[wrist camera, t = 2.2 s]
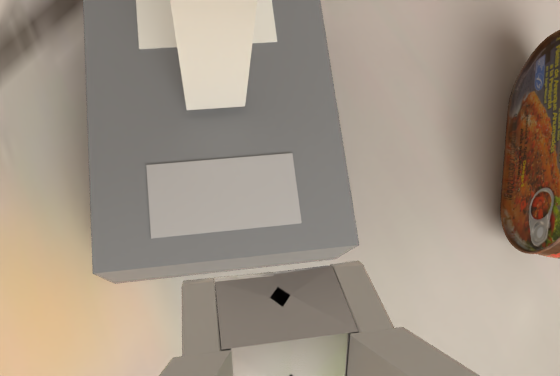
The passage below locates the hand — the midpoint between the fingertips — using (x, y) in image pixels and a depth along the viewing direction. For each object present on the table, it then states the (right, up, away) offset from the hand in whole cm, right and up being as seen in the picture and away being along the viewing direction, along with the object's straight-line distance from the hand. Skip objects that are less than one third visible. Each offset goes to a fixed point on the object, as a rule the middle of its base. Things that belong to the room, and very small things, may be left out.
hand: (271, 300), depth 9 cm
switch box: (-4, +5, +27) cm, 28 cm away
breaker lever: (-3, +7, +20) cm, 22 cm away
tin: (+18, +4, +29) cm, 34 cm away
